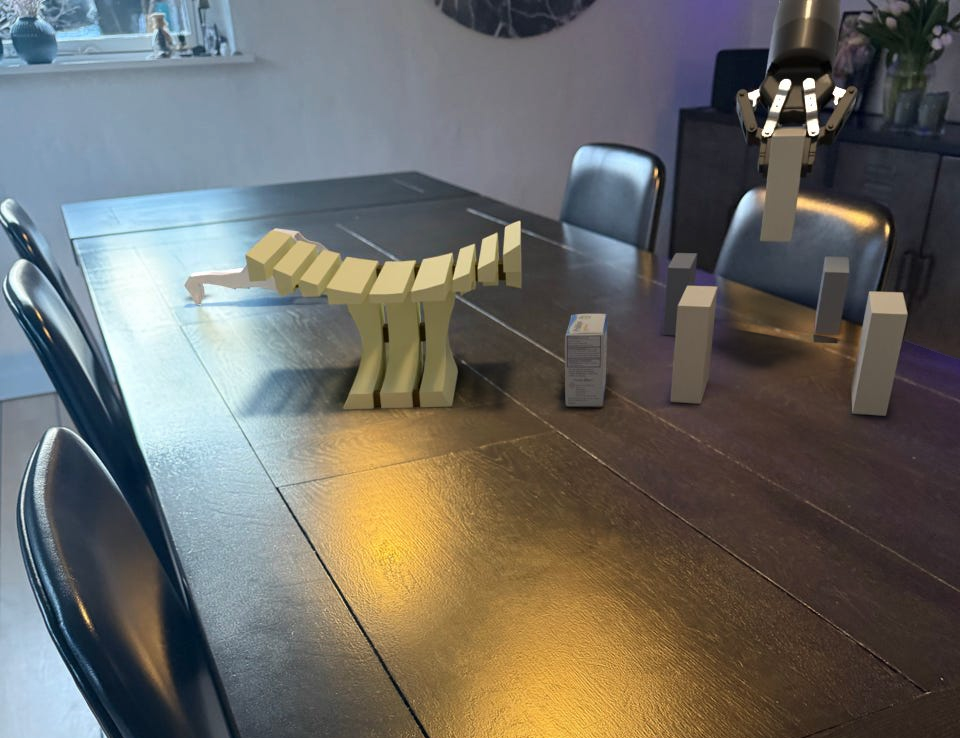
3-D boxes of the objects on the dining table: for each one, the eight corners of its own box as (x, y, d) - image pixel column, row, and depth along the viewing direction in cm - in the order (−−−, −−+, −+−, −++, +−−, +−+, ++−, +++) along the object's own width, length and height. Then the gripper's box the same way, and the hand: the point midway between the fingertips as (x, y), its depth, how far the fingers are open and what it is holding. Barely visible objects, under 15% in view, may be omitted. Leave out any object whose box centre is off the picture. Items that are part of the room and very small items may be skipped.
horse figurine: (331, 348, 159) (186, 295, 155) (357, 253, 150) (204, 194, 146) (326, 357, 155) (178, 303, 151) (353, 260, 146) (195, 200, 142)
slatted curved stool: (523, 360, 123) (520, 215, 112) (523, 404, 109) (520, 244, 99) (299, 367, 124) (276, 224, 114) (273, 411, 111) (245, 254, 101)
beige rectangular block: (760, 241, 109) (772, 135, 103) (764, 227, 115) (776, 126, 109) (791, 241, 108) (805, 135, 102) (793, 227, 114) (807, 126, 108)
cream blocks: (670, 402, 108) (677, 305, 102) (679, 377, 115) (687, 285, 108) (885, 416, 102) (907, 314, 96) (882, 389, 108) (902, 292, 102)
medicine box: (602, 408, 107) (605, 333, 102) (564, 408, 108) (564, 332, 103) (606, 385, 114) (608, 312, 109) (569, 384, 114) (570, 312, 109)
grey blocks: (662, 335, 129) (667, 267, 124) (670, 317, 136) (675, 252, 130) (837, 343, 123) (849, 272, 118) (836, 324, 129) (848, 256, 124)
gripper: (742, 18, 107) (721, 151, 104) (873, 11, 103) (854, 150, 101) (741, 68, 114) (721, 194, 112) (863, 64, 110) (845, 194, 108)
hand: (784, 172), depth 106 cm, fingers closed on beige rectangular block, 3 cm apart
